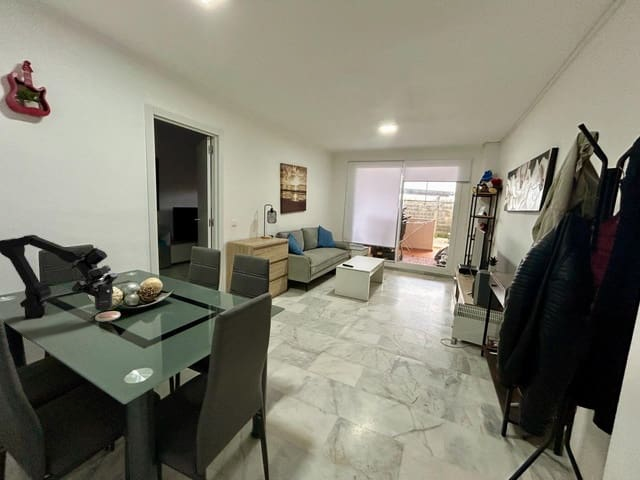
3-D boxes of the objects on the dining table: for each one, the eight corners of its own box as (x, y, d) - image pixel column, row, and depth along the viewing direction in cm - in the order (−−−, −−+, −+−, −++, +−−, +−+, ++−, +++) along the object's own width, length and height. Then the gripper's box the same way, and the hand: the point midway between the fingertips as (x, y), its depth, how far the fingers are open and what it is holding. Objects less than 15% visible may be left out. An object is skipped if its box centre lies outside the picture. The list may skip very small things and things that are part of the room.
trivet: (93, 322, 129) (93, 320, 129) (97, 314, 138) (97, 312, 138) (118, 319, 134) (118, 317, 134) (121, 312, 143) (121, 310, 143)
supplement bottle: (102, 312, 129) (101, 288, 127) (91, 309, 130) (90, 285, 129) (116, 306, 135) (115, 283, 134) (105, 304, 137) (104, 281, 135)
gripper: (75, 264, 122) (95, 291, 121) (115, 257, 140) (132, 281, 139) (62, 279, 124) (82, 305, 123) (103, 270, 142) (120, 293, 142)
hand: (106, 295), depth 132 cm, fingers closed on supplement bottle, 6 cm apart
